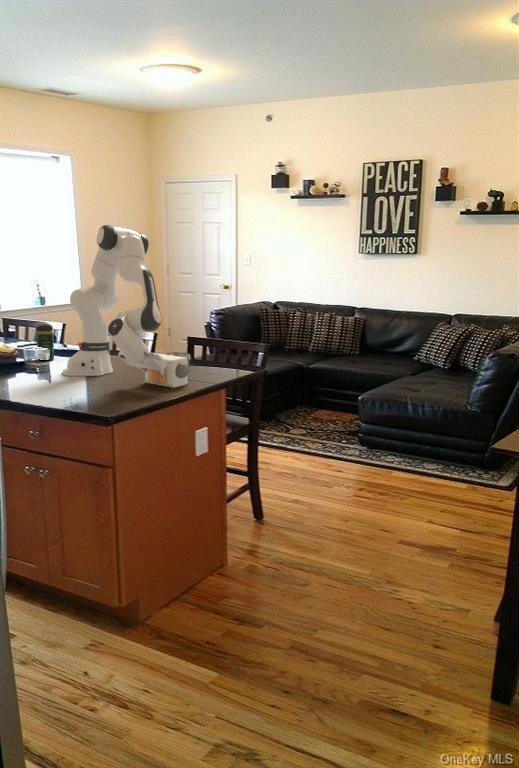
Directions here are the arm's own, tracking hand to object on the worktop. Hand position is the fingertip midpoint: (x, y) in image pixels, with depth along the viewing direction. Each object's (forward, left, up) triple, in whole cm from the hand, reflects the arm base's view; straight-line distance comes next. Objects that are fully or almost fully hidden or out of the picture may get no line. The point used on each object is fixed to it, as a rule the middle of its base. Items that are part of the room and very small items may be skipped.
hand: (154, 371), depth 269 cm
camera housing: (+6, +4, -6) cm, 10 cm away
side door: (0, 0, -5) cm, 5 cm away
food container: (+16, +22, -6) cm, 28 cm away
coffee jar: (-42, +77, -6) cm, 88 cm away
